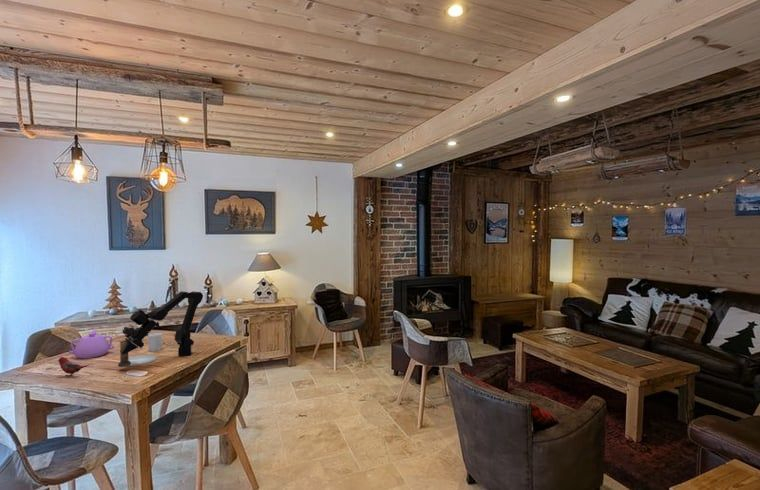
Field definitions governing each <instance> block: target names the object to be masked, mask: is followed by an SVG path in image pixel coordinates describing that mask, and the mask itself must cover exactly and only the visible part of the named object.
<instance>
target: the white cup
mask: <svg viewBox="0 0 760 490" xmlns="http://www.w3.org/2000/svg"><path fill="white" fill-rule="evenodd" d="M162 342H163V333H162V332H154V333H148V336H147V345H148V352H158V351H161V350H162Z"/></svg>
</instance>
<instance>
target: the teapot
mask: <svg viewBox="0 0 760 490" xmlns="http://www.w3.org/2000/svg"><path fill="white" fill-rule="evenodd" d="M107 338H109V342H108V340H107ZM76 341H78V342H77V343H76V345H75V347H74V342H76ZM112 343H113V336H111V335H103V334H97V329H95V328H94V329H93V330H92V332H90V333H88V335H85V336H82V337H81V338H75V339H72V340H71V342H70V348H71V349H69V351H68V354H69V355H74V356H75V357H76V358H78V359H90V358H96V357H98V358H99V357H102V356H103V355H105V354H107V353H108V351H109V350H114V349H115V345H114V344H112Z"/></svg>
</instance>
